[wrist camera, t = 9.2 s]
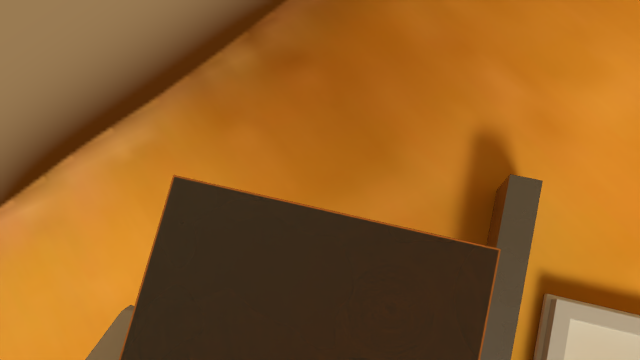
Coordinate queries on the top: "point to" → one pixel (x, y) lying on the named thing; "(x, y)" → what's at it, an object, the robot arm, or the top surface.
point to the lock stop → (303, 284)
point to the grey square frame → (585, 332)
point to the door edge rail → (509, 261)
